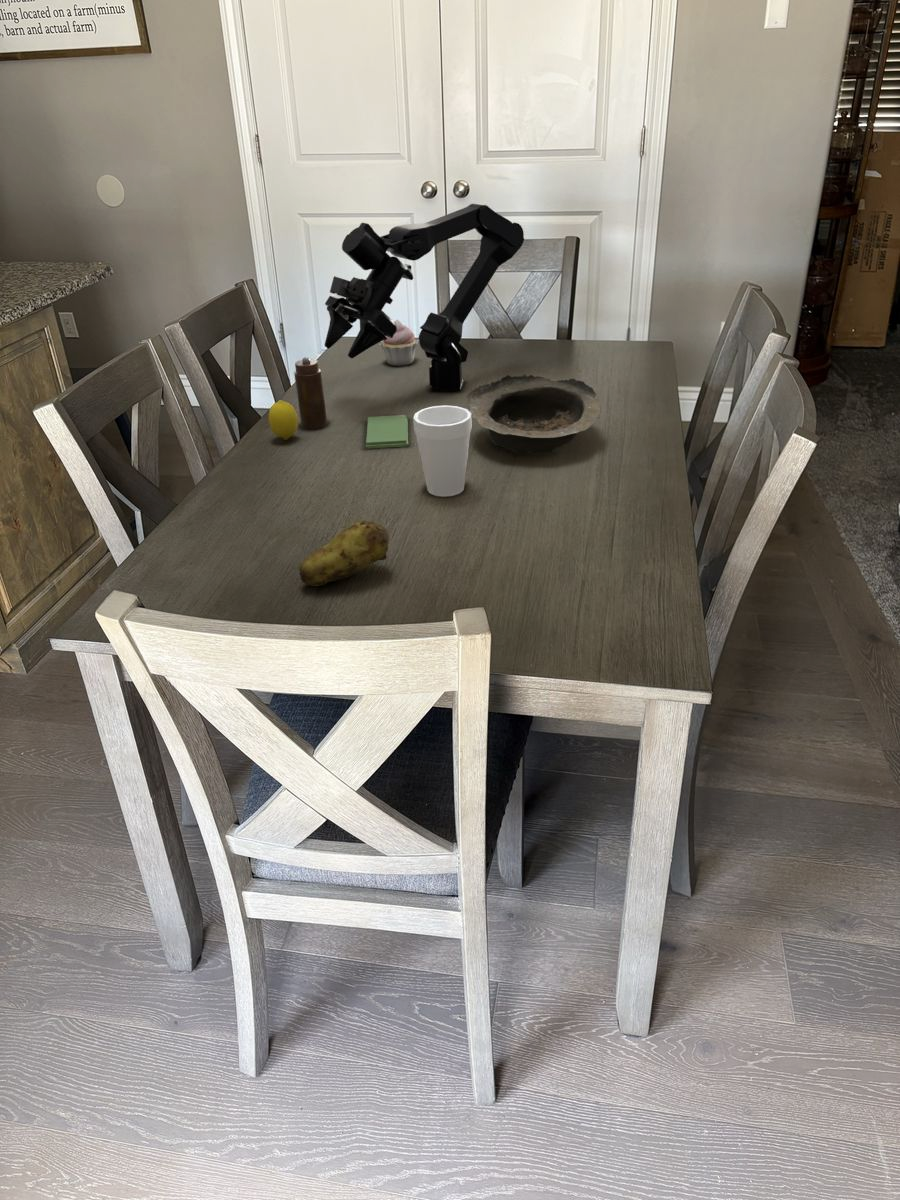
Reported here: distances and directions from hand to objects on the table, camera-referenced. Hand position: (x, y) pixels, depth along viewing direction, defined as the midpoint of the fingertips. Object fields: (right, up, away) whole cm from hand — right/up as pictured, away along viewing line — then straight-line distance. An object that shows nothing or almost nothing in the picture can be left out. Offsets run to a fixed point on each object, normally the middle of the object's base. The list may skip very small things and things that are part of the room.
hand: (337, 352), depth 172 cm
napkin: (+10, -17, -2) cm, 20 cm away
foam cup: (+22, -30, -24) cm, 44 cm away
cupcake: (+10, +8, +37) cm, 39 cm away
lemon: (-10, -18, -2) cm, 21 cm away
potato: (+8, -46, -48) cm, 67 cm away
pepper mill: (-5, -14, +4) cm, 15 cm away
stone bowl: (+38, -19, -8) cm, 44 cm away
